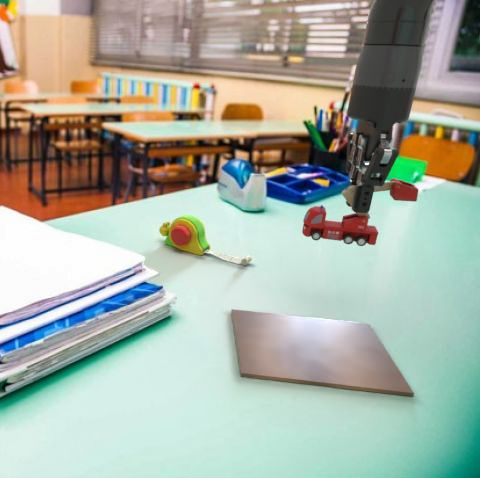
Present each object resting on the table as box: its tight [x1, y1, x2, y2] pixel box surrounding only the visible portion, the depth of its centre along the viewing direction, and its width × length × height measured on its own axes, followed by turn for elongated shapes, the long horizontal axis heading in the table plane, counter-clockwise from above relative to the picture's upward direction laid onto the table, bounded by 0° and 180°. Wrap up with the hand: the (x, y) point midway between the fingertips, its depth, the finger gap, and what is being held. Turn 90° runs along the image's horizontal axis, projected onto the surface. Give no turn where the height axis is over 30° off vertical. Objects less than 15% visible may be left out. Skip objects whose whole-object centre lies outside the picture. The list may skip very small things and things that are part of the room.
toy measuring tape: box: [159, 214, 253, 266], centre depth 95 cm, size 6×20×7 cm, turn 55°
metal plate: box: [230, 308, 415, 397], centre depth 66 cm, size 20×16×1 cm
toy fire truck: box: [301, 177, 419, 247], centre depth 71 cm, size 3×14×10 cm, turn 73°
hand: (356, 208), depth 71 cm, fingers closed on toy fire truck, 2 cm apart
